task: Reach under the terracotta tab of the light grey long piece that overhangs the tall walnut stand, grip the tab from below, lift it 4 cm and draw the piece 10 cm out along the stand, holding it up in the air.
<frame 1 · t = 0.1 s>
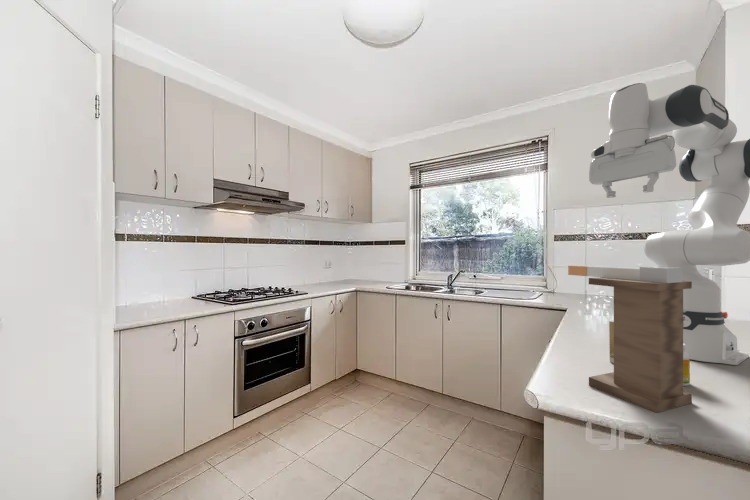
hand: (628, 194, 89), 48 cm above the countertop, tool pointing down, fingers open, 8 cm apart
stand: (637, 393, 73), on the countertop
supplement bottle: (674, 382, 80), on the countertop
light grey long piece: (616, 278, 78), point 26 cm above the countertop, touching stand
skincare box: (623, 364, 93), on the countertop
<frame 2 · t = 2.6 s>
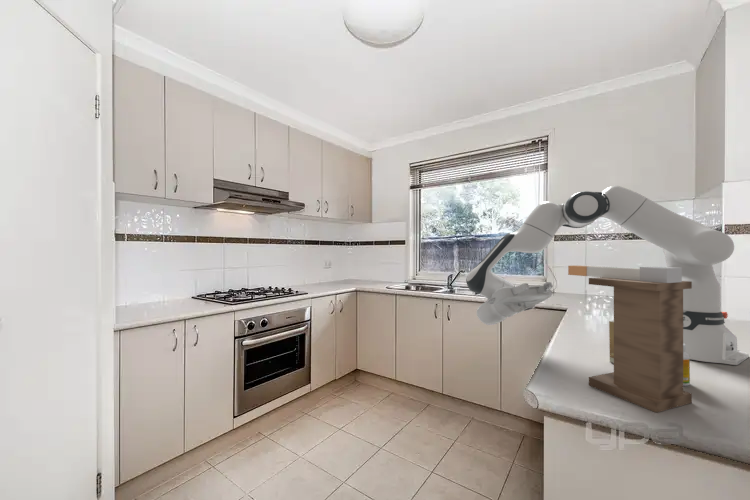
hand: (538, 284, 99), 22 cm above the countertop, tool pointing upward, fingers open, 8 cm apart
nothing on the countertop moved.
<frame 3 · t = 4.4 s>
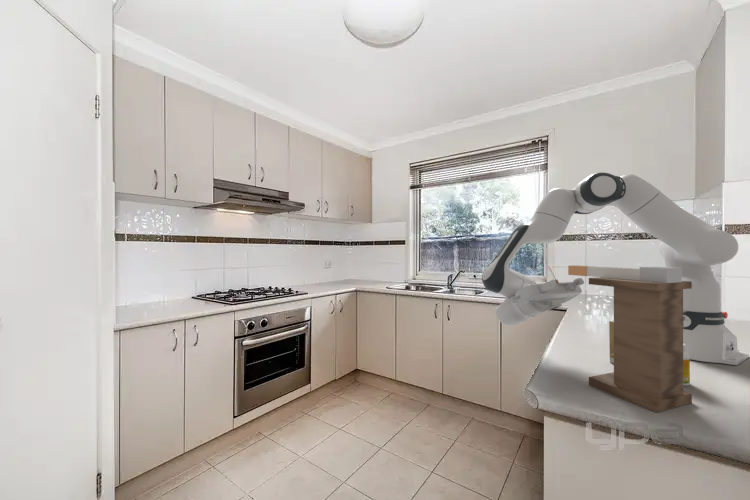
hand: (569, 281, 89), 24 cm above the countertop, tool pointing upward, fingers open, 8 cm apart
nothing on the countertop moved.
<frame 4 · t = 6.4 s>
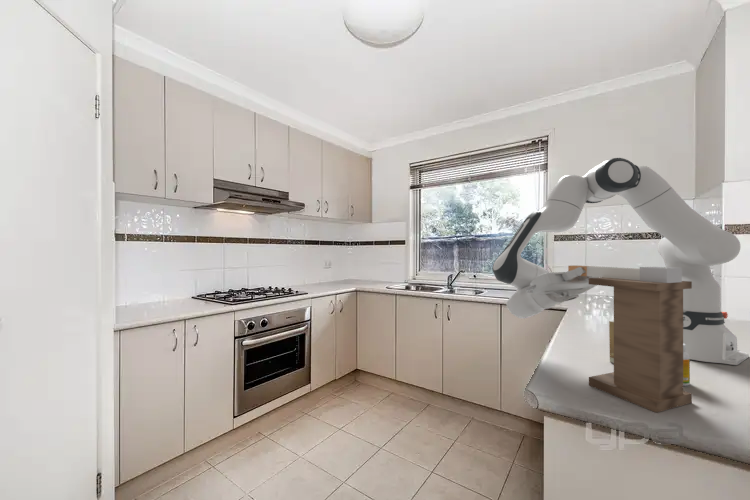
hand: (589, 269, 84), 28 cm above the countertop, tool pointing upward, fingers closed on light grey long piece, 3 cm apart
light grey long piece: (616, 278, 78), point 26 cm above the countertop, touching gripper, stand
everything else where it was.
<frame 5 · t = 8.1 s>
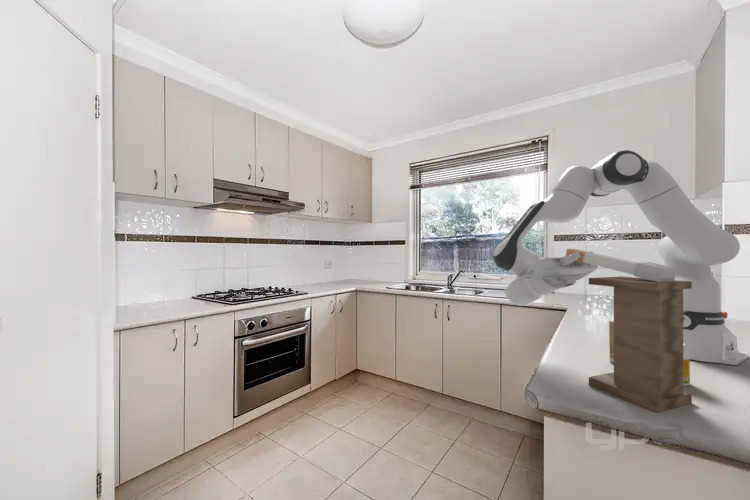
hand: (586, 254, 85), 32 cm above the countertop, tool pointing upward, fingers closed on light grey long piece, 3 cm apart
light grey long piece: (611, 268, 79), point 28 cm above the countertop, tilted 12°, touching gripper
everything else where it was.
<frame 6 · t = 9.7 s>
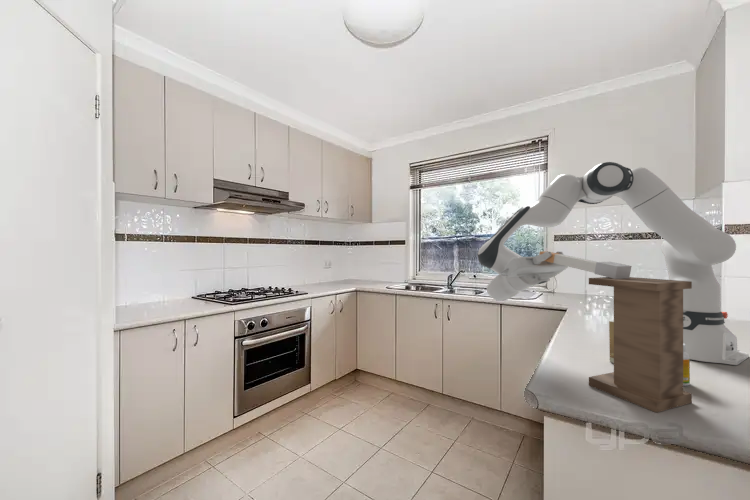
hand: (555, 253, 93), 32 cm above the countertop, tool pointing upward, fingers closed on light grey long piece, 3 cm apart
light grey long piece: (577, 267, 87), point 28 cm above the countertop, tilted 10°, touching gripper, stand
everything else where it was.
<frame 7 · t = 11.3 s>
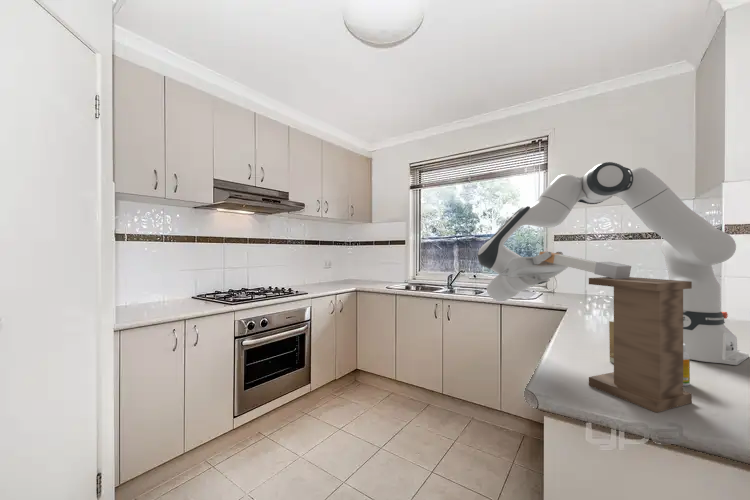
hand: (555, 253, 93), 32 cm above the countertop, tool pointing upward, fingers closed on light grey long piece, 3 cm apart
light grey long piece: (577, 267, 87), point 28 cm above the countertop, tilted 10°, touching gripper, stand
everything else where it was.
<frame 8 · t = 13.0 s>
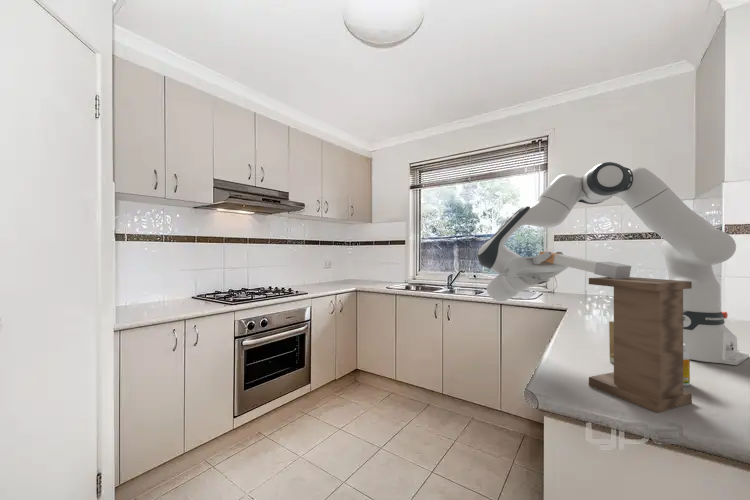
hand: (555, 253, 93), 32 cm above the countertop, tool pointing upward, fingers closed on light grey long piece, 3 cm apart
light grey long piece: (577, 267, 87), point 28 cm above the countertop, tilted 10°, touching gripper, stand
everything else where it was.
at the end: the gripper is holding light grey long piece; light grey long piece moved 10.1 cm from its start; light grey long piece point 27.9 cm above the countertop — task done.
